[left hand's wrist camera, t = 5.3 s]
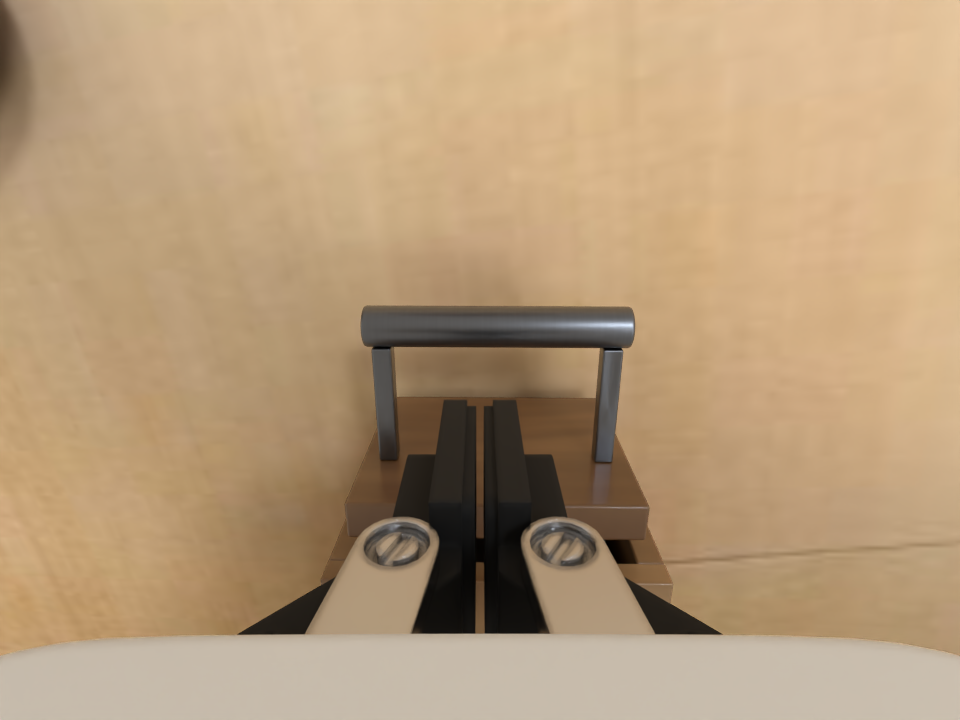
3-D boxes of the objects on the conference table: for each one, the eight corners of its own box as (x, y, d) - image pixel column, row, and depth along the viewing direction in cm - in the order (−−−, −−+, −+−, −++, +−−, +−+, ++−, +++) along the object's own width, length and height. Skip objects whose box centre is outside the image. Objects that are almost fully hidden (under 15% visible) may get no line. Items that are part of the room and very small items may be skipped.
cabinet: (382, 426, 24) (320, 579, 15) (605, 428, 24) (673, 584, 15) (405, 752, 31) (372, 982, 22) (575, 755, 31) (609, 988, 22)
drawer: (381, 274, 21) (325, 332, 13) (610, 274, 20) (673, 334, 13) (411, 732, 29) (386, 913, 22) (570, 735, 29) (596, 917, 22)
